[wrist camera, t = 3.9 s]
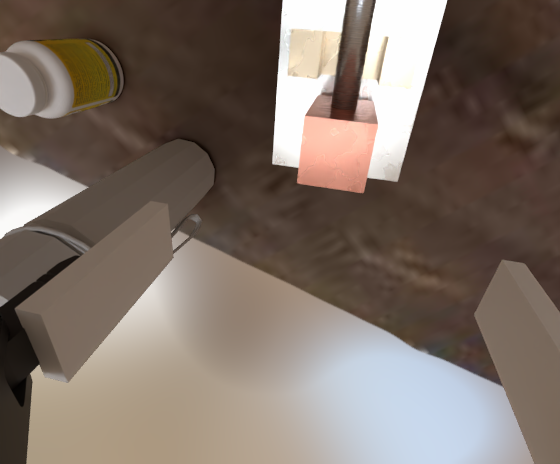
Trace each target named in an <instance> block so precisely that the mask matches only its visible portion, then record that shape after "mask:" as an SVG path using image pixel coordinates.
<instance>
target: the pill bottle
mask: <svg viewBox="0 0 560 464" xmlns="http://www.w3.org/2000/svg"><path fill="white" fill-rule="evenodd" d="M123 85H124V78H123V72H122V69H121V66H120V64H119V62H118V60H117V58H116V57H115V55H114V54H113V53H112V51H111V50H110V49H109V48H108V47H106V46H105V45H104V44H102V43H100V42H99V41H96V40H93V39H84V38H82V39H53V40H27V41H20V42H17V43H14V44H13V45H11V46H10V47H9V48H8V49H7V51H6V52H0V109H2V110H3V111H5V112H6V113H8V114H10V115H13V116H17V117H25V116H30V115H34V114H35V115H38V116H40V117H44V118H59V117H63V116H67V115H70V114H73V113H77V112H80V111H84V110H87V109H91V108H94V107H98V106H101V105H104V104H107V103H110V102H112V101H114V100H116V99H117V98H118V97H119V95H120V94H121V92H122V89H123Z"/></svg>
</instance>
